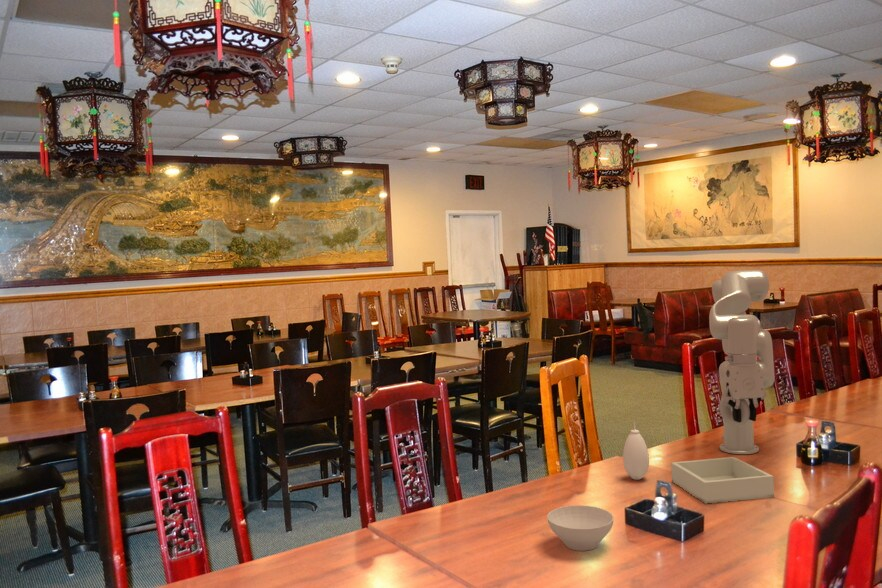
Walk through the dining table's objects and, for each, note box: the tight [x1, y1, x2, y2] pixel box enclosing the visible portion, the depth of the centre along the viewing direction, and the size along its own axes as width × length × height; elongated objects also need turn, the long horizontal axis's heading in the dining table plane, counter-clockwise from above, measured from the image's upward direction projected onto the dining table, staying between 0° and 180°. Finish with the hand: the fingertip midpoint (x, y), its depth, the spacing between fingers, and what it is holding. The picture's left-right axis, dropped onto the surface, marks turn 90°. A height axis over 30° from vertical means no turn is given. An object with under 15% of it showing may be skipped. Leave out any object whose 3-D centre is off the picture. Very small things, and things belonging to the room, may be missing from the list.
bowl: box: [546, 504, 615, 552], centre depth 171 cm, size 16×16×7 cm
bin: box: [670, 456, 775, 505], centre depth 205 cm, size 20×20×6 cm
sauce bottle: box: [622, 421, 650, 481], centre depth 219 cm, size 8×8×18 cm
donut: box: [718, 397, 750, 426], centre depth 210 cm, size 10×4×10 cm, turn 30°
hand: (744, 420), depth 207 cm, fingers closed on donut, 3 cm apart
